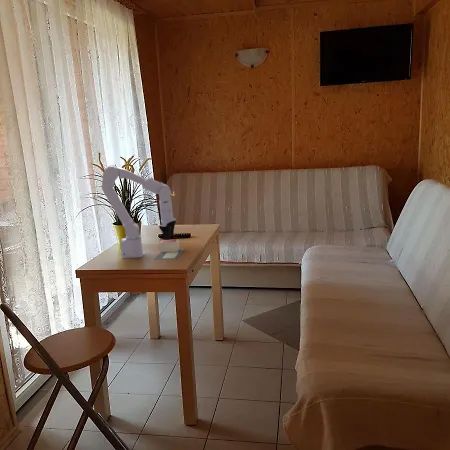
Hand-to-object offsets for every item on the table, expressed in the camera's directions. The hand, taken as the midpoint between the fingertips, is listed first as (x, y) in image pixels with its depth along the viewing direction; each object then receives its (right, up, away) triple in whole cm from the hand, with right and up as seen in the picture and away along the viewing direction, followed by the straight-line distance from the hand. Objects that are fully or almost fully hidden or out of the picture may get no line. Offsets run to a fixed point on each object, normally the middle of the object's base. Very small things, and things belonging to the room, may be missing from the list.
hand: (169, 237), depth 213 cm
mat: (+1, -8, -4) cm, 8 cm away
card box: (0, -6, +1) cm, 7 cm away
